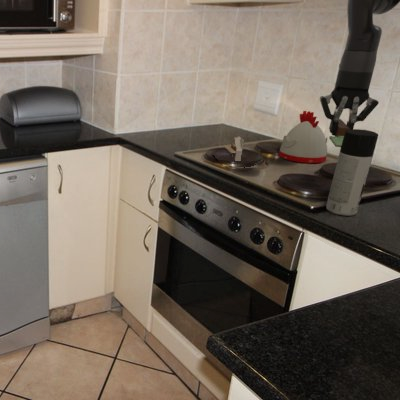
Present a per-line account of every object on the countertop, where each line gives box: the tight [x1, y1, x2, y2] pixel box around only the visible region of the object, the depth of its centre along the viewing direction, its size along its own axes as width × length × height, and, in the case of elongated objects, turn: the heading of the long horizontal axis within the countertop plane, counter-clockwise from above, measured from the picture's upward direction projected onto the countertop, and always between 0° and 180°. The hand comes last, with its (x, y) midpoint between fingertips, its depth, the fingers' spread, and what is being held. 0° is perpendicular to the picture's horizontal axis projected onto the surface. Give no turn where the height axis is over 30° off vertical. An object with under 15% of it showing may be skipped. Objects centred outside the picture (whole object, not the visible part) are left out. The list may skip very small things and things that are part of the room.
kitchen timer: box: [278, 110, 328, 164], centre depth 156 cm, size 14×14×15 cm
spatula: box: [328, 118, 350, 148], centre depth 126 cm, size 21×6×3 cm, turn 159°
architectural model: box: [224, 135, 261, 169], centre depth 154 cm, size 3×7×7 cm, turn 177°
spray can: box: [325, 128, 379, 217], centre depth 114 cm, size 7×7×20 cm
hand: (340, 135), depth 128 cm, fingers closed on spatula, 2 cm apart
